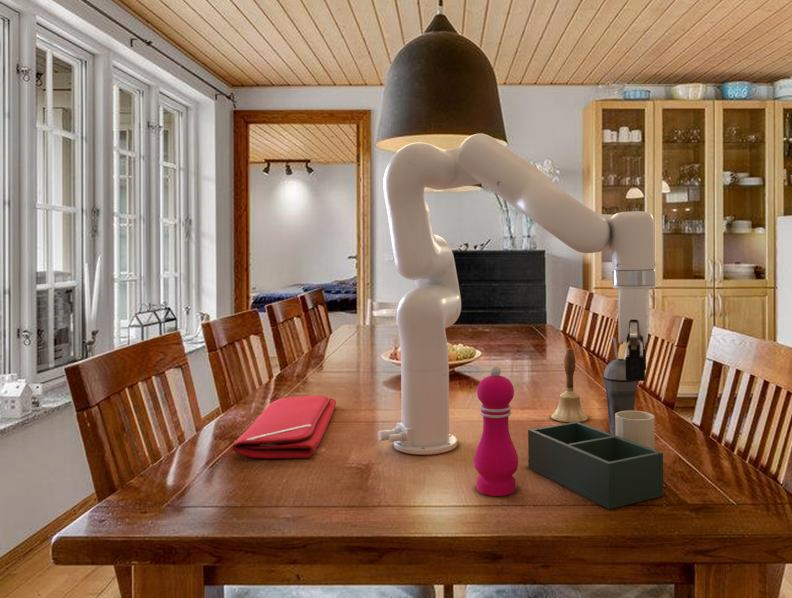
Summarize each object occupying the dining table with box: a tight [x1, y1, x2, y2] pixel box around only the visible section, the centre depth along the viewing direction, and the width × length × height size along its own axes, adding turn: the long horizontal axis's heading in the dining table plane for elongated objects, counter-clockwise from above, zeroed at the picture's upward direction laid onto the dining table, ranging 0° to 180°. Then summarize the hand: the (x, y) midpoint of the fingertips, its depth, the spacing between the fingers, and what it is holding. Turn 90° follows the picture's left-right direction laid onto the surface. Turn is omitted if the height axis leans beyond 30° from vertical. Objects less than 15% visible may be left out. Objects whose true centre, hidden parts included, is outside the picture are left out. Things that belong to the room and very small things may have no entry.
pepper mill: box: [473, 365, 519, 497], centre depth 107 cm, size 7×7×20 cm
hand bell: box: [550, 348, 589, 423], centre depth 151 cm, size 8×8×16 cm
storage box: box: [527, 422, 665, 510], centre depth 111 cm, size 11×21×7 cm, turn 28°
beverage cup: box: [602, 337, 639, 435], centre depth 139 cm, size 7×7×20 cm
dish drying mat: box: [231, 394, 337, 459], centre depth 143 cm, size 16×41×4 cm, turn 5°
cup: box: [615, 410, 656, 450], centre depth 118 cm, size 7×7×9 cm
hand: (636, 375), depth 119 cm, fingers open, 9 cm apart
